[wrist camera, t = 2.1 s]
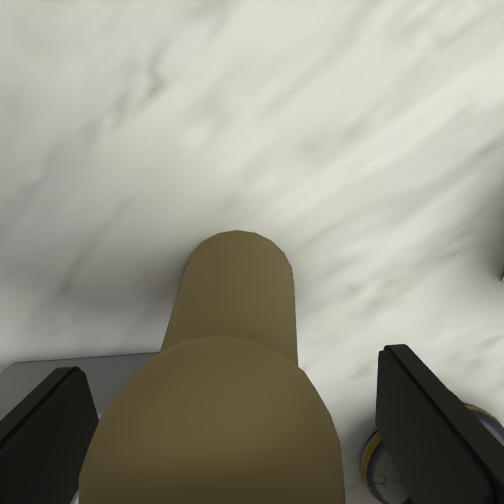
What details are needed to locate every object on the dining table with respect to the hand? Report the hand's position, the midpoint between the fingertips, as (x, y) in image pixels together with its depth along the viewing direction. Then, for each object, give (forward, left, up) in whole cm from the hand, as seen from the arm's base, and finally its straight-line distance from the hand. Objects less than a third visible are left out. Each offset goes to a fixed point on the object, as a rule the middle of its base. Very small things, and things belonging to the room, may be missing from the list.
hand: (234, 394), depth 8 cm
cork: (-1, 0, -7) cm, 7 cm away
